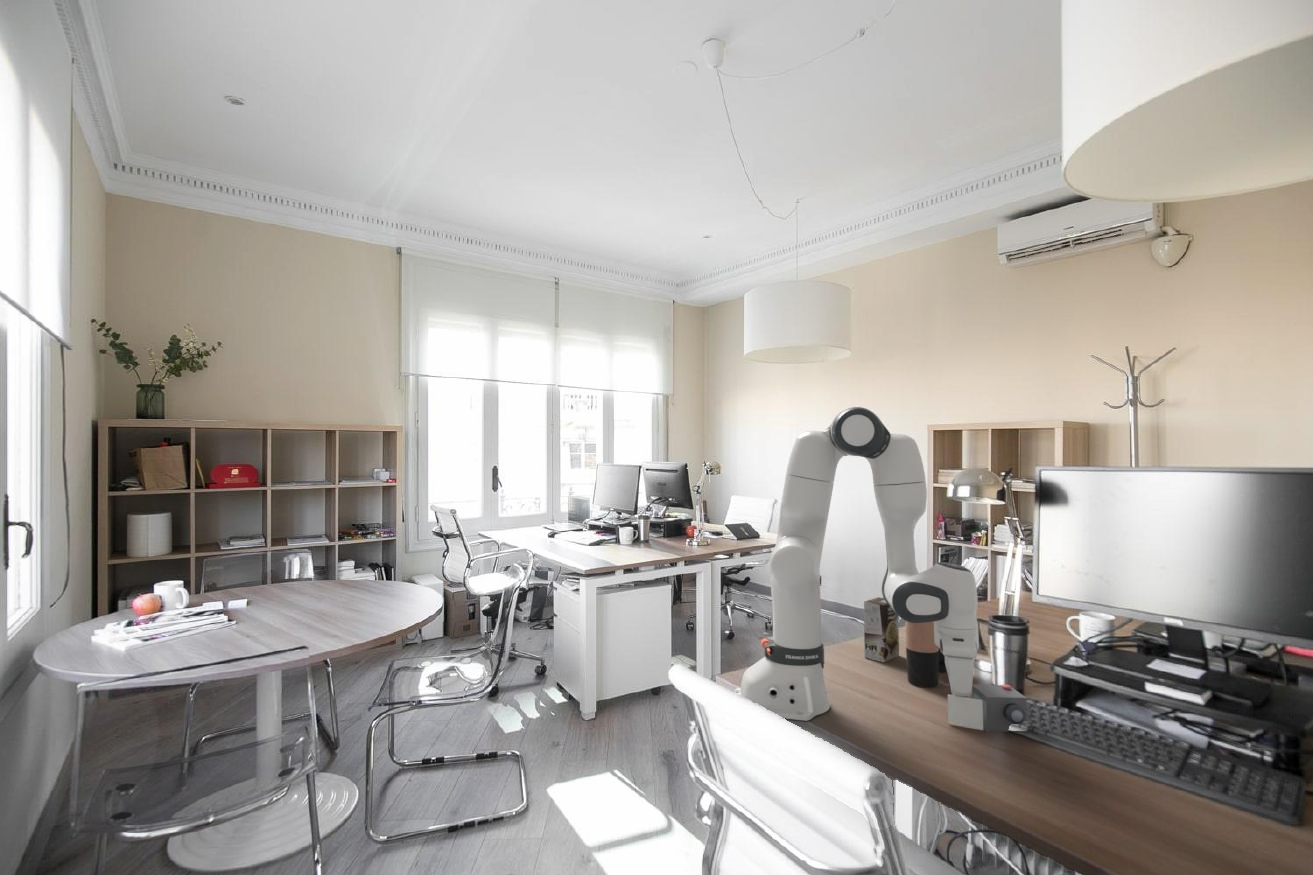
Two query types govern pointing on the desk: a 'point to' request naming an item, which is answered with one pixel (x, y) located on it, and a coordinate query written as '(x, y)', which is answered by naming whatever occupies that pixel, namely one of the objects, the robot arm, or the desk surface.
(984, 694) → the camera block
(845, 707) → the desk surface
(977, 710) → the side door
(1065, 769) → the desk surface
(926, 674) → the travel mug
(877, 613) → the coffee box
